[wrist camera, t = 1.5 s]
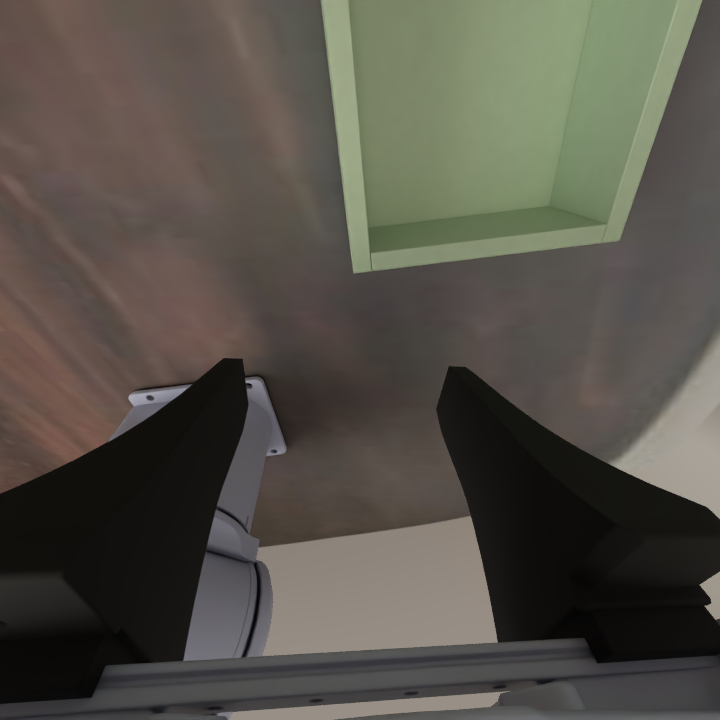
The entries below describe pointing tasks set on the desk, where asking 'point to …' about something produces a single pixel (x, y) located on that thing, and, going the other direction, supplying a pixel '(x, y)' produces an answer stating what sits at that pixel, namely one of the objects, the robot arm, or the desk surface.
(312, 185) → the desk surface
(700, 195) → the desk surface
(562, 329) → the desk surface
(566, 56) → the storage bin
